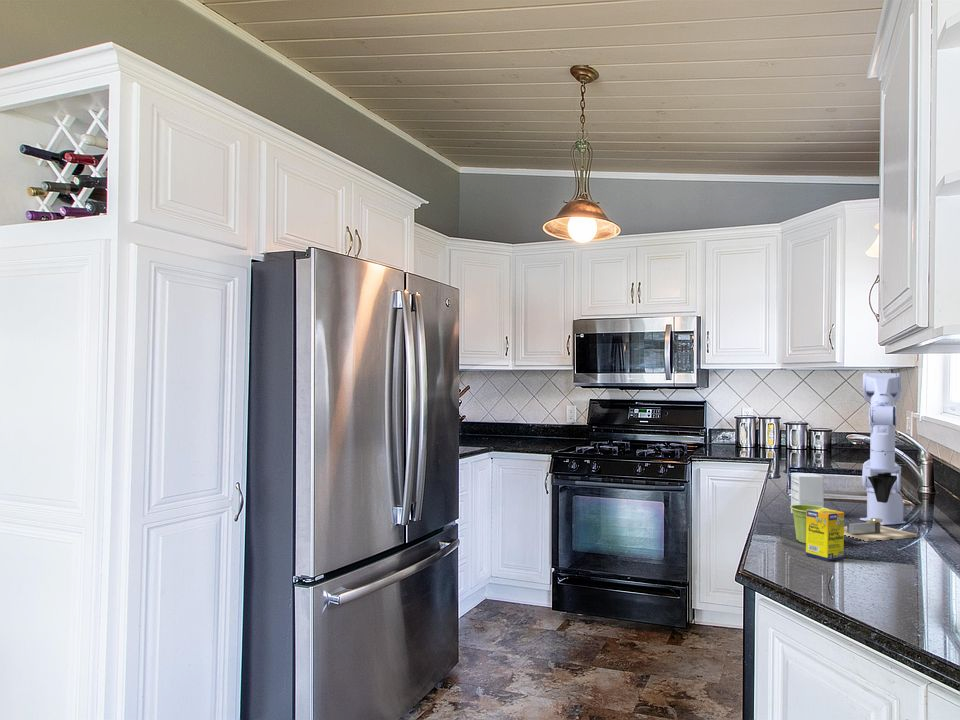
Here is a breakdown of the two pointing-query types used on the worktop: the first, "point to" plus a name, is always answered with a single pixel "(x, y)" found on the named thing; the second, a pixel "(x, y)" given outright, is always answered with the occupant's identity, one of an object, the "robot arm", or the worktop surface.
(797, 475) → the supplement box
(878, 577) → the worktop surface
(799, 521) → the plant pot
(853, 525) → the lock bar
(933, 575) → the worktop surface
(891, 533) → the jamb board
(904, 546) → the worktop surface
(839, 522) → the supplement box
